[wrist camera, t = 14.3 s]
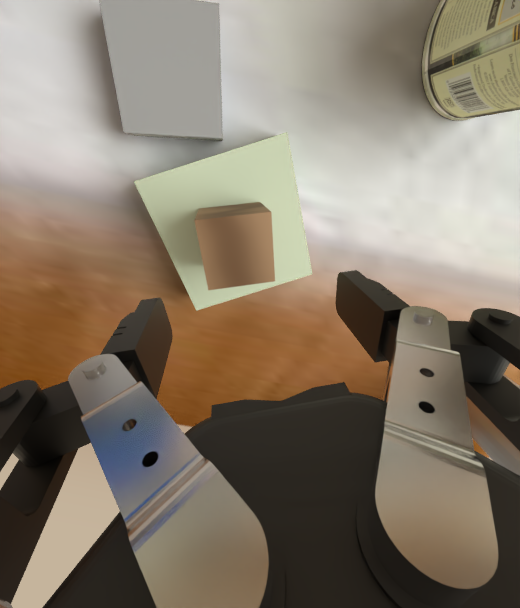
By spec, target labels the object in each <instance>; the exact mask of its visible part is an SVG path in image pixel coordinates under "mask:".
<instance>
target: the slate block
mask: <svg viewBox="0 0 520 608" xmlns="http://www.w3.org/2000/svg"><path fill="white" fill-rule="evenodd" d="M99 3H100V8H101V14H102V19H103V25H104V30H105V35H106V41H107V46H108V51H109V57H110V62H111V67H112V73H113V78H114V83H115V89H116V94H117V100H118V105H119V110H120V116H121V121H122V126H123V132H124V133H127V134H130V135H134V136H148V137H166V138H183V139H201V140H218V141H222V139H223V132H222V96H221V59H220V22H219V4H218V3H211V2H204V1H196V0H99Z"/></svg>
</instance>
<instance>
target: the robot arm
mask: <svg viewBox="0 0 520 608" xmlns="http://www.w3.org/2000/svg"><path fill="white" fill-rule="evenodd" d="M336 309H337V313H338V315H339V316H340V318H341V319H342V320H343V321H344V323H345V324H346V325H347V327H348V328H349V329H350V331H351V332H352V333H353V334H354V336H355V337H356V338H357V340H358V341H359V342H360V344H361V345H362V346H363V347H364V349H365V350H366V351H367V353H368V354H369V355H370V356H371V358H372V359H373V360H374V362H380V361H386V360H388V362H389V366H388V371H387V377H386V382H385V388H384V394H383V399H382V400H380V399H378V398H375V397H372V396H368V395H364V394H359V393H350V392H349V390H348V388H347V387H346V385H345V383H344V382H343V383H337V384H332V385H326V386H320V387H315V388H311V389H309V390H306V391H304V392H302V393H299V394H297V395H295V396H292V397H290V398H288V399H285V400H282V401H265V400H240V401H234V402H229V403H223V404H217V405H212V414H211V417H210V418H208V419H205V420H204V421H202V422H200V423H198V424H197V425H195V426H194V427H192V428H191V429H190V430H189V431H187V432H186V433H185V434H184V433H183V432H182V431H181V430H180V428H179V427H178V426H177V424H176V423H175V422H174V421H173V419H172V418H171V417H170V416H169V415H168V413H167V412H166V411H165V410H164V408H163V407H162V406H161V405H160V404H159V402H158V401H157V400H156V399H157V395H158V391H159V387H160V384H161V380H162V376H163V373H164V369H165V365H166V361H167V358H168V354H169V350H170V346H171V343H172V329H171V325H170V322H169V319H168V316H167V313H166V310H165V307H164V304H163V301H162V299H161V298H153V299H146V300H141V302H140V303H139V305H138V307H137V309H136V310H135V312H133V313H130V314H129V315H127V316H126V317H125V318H124V319H122V320H121V322H120V323H119V325H118V327H117V329H116V330H115V332H114V333H113V336H111V338H110V340H109V341H108V343H107V344H106V346H105V348H104V349H103V351H102V353H101V354H100V355H98V356H95V357H92V358H90V359H87V360H86V361H84V362H82V363H81V364H79V365H78V366H77V367H76V368H75V369H74V370H73V371H72V372H71V374H70V375H69V379H68V380H69V381H66V382H63V383H60V384H58V385H55V386H52V387H49V388H46V389H44V390H41V388H40V387H39V386H38V384H37V383H36V382H35V381H32V380H24V381H19V382H16V383H13V384H10V385H8V386H6V387H3V388H1V389H0V471H1V470H2V468H3V467H4V465H5V464H6V462H7V461H8V459H9V457H10V456H11V454H12V453H13V454H14V455H15V456H16V457H17V458H18V459H19V461H18V462H17V464H16V466H15V467H14V469H13V471H12V472H11V474H10V476H9V477H8V479H7V480H6V482H5V483H4V485H3V487H2V488H1V490H0V608H12V606H11V602H12V600H13V597H14V595H15V593H16V591H17V588H18V586H19V584H20V581H21V579H22V577H23V575H24V572H25V570H26V567H27V565H28V563H29V561H30V558H31V556H32V554H33V551H34V549H35V547H36V544H37V542H38V540H39V538H40V535H41V533H42V531H43V528H44V526H45V524H46V521H47V519H48V517H49V514H50V512H51V510H52V508H53V505H54V503H55V501H56V498H57V496H58V494H59V492H60V489H61V487H62V485H63V482H64V480H65V478H66V475H67V473H68V471H69V468H70V466H71V464H72V462H73V459H74V457H75V455H76V452H77V450H78V448H80V447H82V446H84V445H87V444H89V443H91V444H92V446H93V448H94V451H95V453H96V455H97V458H98V460H99V462H100V465H101V467H102V469H103V472H104V474H105V477H106V479H107V481H108V484H109V486H110V488H111V490H112V493H113V495H114V498H115V500H116V502H117V505H118V507H119V509H120V512H119V513H118V515H117V516H116V517H115V518H114V520H113V521H112V522H111V523H110V525H109V526H108V527H107V528H106V530H105V531H104V532H103V533H102V535H101V536H100V537H99V538H98V539H97V541H96V542H95V543H94V544H93V546H92V547H91V548H90V550H89V551H88V552H87V553H86V554H85V556H84V557H83V558H82V559H81V561H80V562H79V563H78V564H77V566H76V567H75V568H74V569H73V570H72V572H71V573H70V574H69V576H68V577H67V578H66V579H65V580H64V582H63V583H62V584H61V585H60V587H59V588H58V589H57V590H56V592H55V593H54V594H53V595H52V597H51V598H50V599H49V600H48V601H47V603H46V604H45V605H44V606H43V608H520V386H519V385H518V384H516V383H515V382H514V381H512V380H511V379H510V378H508V377H507V376H506V375H504V372H505V371H506V369H507V367H508V365H509V363H511V364H513V365H514V366H515V367H517V368H518V369H519V370H520V317H519V316H517V315H515V314H512V313H509V312H506V311H503V310H498V309H490V308H483V309H477V310H475V311H474V312H473V313H472V315H471V318H470V321H469V322H466V321H448V320H447V318H446V317H445V316H444V315H443V314H442V313H440V312H438V311H436V310H433V309H430V308H426V307H420V306H412V307H410V306H409V305H408V304H406V303H405V302H404V301H402V300H401V299H400V298H399V297H397V296H396V295H395V294H393V293H392V292H391V291H389V290H387V288H385V287H384V286H383V285H381V284H380V283H378V282H376V281H373V280H371V279H367V278H366V277H365V276H363V275H362V274H361V273H360V272H358V271H357V270H354V271H347V272H340V273H339V274H338V278H337V292H336ZM472 438H473V439H474V440H475V441H476V442H477V444H478V445H479V446H480V447H481V448H482V449H483V450H484V451H485V452H486V453H487V454H488V456H489V457H490V458H491V459H492V460H493V461H492V460H490V459H488V458H487V457H485V456H483V455H481V454H479V453H478V452H476V451H474V447H473V440H472Z"/></svg>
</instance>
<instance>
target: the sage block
mask: <svg viewBox="0 0 520 608" xmlns="http://www.w3.org/2000/svg"><path fill="white" fill-rule="evenodd" d="M134 183H135V185H136V187H137V189H138V191H139V193H140V195H141V198H142V200H143V202H144V204H145V206H146V208H147V210H148V212H149V214H150V216H151V218H152V220H153V222H154V224H155V226H156V228H157V230H158V232H159V235H160V237H161V239H162V241H163V243H164V245H165V247H166V249H167V251H168V253H169V255H170V257H171V259H172V261H173V263H174V265H175V267H176V269H177V272H178V274H179V276H180V278H181V280H182V282H183V284H184V286H185V288H186V290H187V292H188V294H189V296H190V298H191V300H192V302H193V304H194V306H195V309H196V311H197V310H200V309H203V308H206V307H210V306H213V305H216V304H219V303H222V302H225V301H229V300H232V299H235V298H238V297H241V296H245V295H248V294H251V293H254V292H257V291H260V290H264V289H267V288H270V287H273V286H276V285H280V284H283V283H286V282H289V281H292V280H296V279H299V278H302V277H305V276H308V275H311V274H312V270H311V264H310V258H309V253H308V247H307V241H306V236H305V230H304V225H303V219H302V213H301V208H300V202H299V196H298V191H297V185H296V179H295V174H294V168H293V162H292V157H291V151H290V146H289V140H288V134H287V132H286V133H283V134H280V135H277V136H274V137H271V138H268V139H265V140H261V141H258V142H255V143H252V144H249V145H246V146H243V147H240V148H237V149H233V150H230V151H227V152H224V153H221V154H218V155H215V156H212V157H208V158H205V159H202V160H199V161H196V162H193V163H190V164H187V165H184V166H180V167H177V168H174V169H171V170H168V171H165V172H162V173H159V174H155V175H152V176H149V177H146V178H143V179H140V180H137V181H134ZM255 202H261V203H262V204H263V205H264V206H265V207H266V208H268V209H269V210H270V211H271V214H272V233H273V251H274V270H275V281H274V282H267V283H259V284H252V285H245V286H237V287H230V288H222V289H215V290H208V286H207V281H206V276H205V271H204V266H203V261H202V256H201V251H200V246H199V241H198V236H197V231H196V226H195V221H194V220H195V217H196V215H197V212H198V210H199V208H208V207H217V206H227V205H236V204H245V203H255Z"/></svg>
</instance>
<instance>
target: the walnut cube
mask: <svg viewBox="0 0 520 608" xmlns="http://www.w3.org/2000/svg"><path fill="white" fill-rule="evenodd" d="M194 221H195V226H196V231H197V236H198V241H199V246H200V251H201V256H202V261H203V266H204V271H205V276H206V281H207V286H208V290H215V289H222V288H230V287H237V286H245V285H252V284H259V283H267V282H274V281H275V270H274V251H273V233H272V214H271V211H270V210H269V209H268V208H266V207H265V206H264V205H263V204H262V203H261V202H255V203H245V204H236V205H227V206H217V207H208V208H199V210H198V212H197V215H196V217H195V220H194Z"/></svg>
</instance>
